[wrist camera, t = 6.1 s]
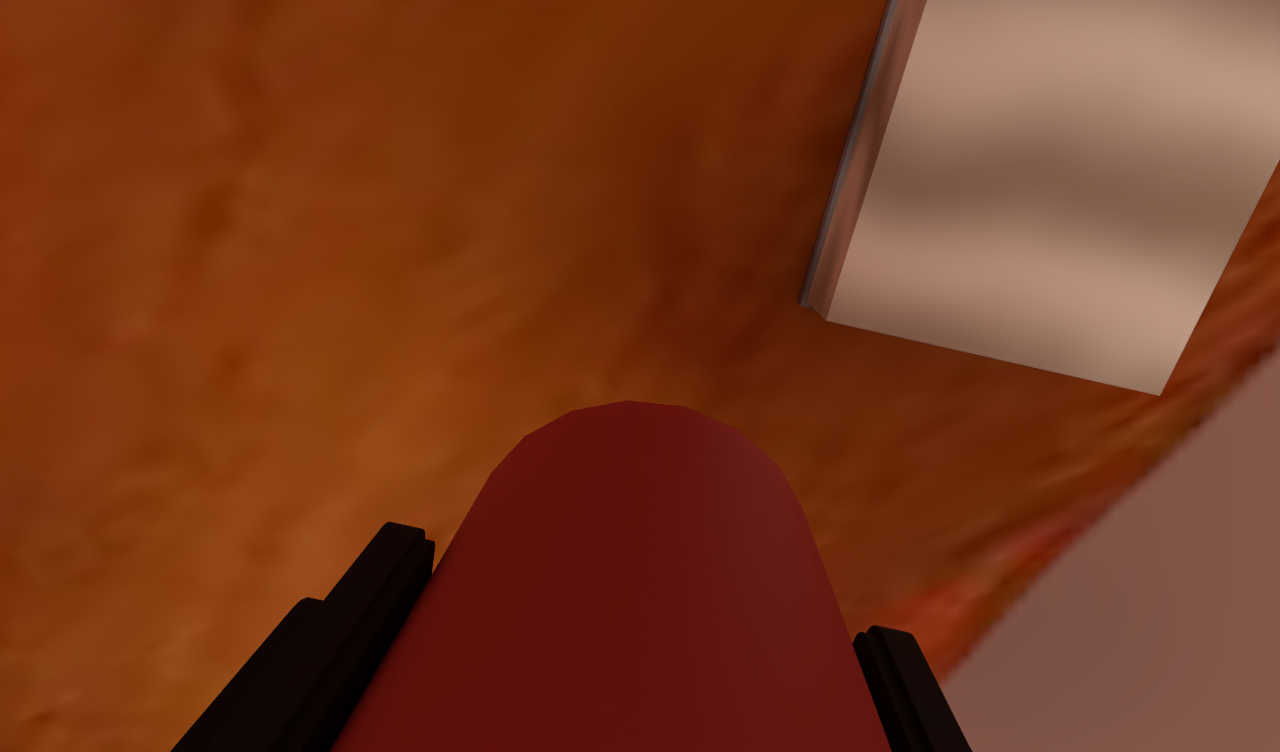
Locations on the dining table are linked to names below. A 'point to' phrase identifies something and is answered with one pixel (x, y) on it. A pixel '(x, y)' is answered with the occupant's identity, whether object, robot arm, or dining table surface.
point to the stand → (1051, 178)
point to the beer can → (625, 607)
